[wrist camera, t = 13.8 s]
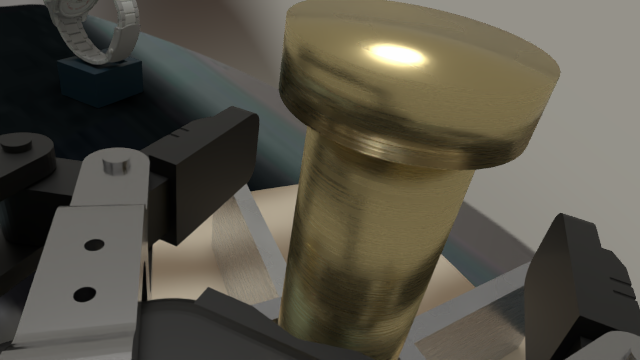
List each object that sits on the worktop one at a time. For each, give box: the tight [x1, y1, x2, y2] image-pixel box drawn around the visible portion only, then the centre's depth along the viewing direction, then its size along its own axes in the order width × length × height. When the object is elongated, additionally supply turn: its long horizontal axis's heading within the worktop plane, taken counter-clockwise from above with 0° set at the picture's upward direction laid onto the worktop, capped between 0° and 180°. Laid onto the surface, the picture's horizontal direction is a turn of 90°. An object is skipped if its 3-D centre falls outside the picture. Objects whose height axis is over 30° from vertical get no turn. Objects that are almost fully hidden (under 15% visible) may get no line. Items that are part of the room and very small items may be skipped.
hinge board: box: [152, 184, 525, 360], centre depth 22 cm, size 25×20×1 cm
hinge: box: [211, 184, 531, 360], centre depth 21 cm, size 16×16×6 cm
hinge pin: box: [278, 0, 560, 360], centre depth 12 cm, size 4×4×16 cm
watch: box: [43, 0, 143, 108], centre depth 40 cm, size 6×8×11 cm
